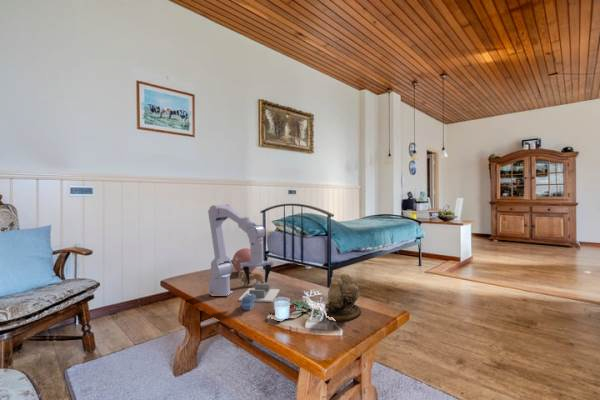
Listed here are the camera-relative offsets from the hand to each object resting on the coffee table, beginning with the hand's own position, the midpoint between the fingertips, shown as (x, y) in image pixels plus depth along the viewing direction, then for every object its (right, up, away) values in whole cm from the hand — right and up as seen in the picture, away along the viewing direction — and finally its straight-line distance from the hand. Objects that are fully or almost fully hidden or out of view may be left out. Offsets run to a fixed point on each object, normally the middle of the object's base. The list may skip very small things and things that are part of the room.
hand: (257, 282), depth 135 cm
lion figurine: (-7, -9, +26) cm, 29 cm away
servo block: (-3, -10, -4) cm, 11 cm away
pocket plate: (0, -9, +11) cm, 14 cm away
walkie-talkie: (+16, -10, -11) cm, 22 cm away
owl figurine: (+37, -10, -12) cm, 40 cm away
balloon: (-16, -9, +50) cm, 54 cm away
